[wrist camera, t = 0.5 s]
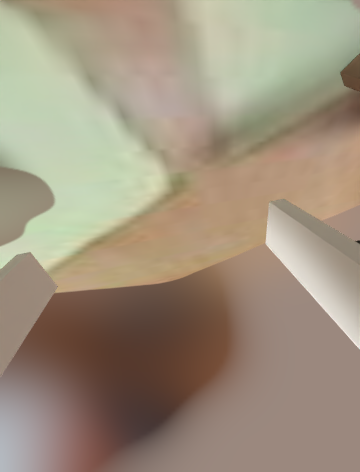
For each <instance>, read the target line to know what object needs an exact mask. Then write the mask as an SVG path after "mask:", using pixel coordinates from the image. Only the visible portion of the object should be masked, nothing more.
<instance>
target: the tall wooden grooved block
mask: <svg viewBox="0 0 360 472" xmlns="http://www.w3.org/2000/svg"><path fill="white" fill-rule="evenodd" d="M340 73H341V76H342V79H343V83H344V86H346V87H349V88H352V89H354V90H357V91H359V92H360V54H359V55H358V56H357V57H356V58H355V59H354V60H353V61H352V62H351V63H350V64H349V65H348V66H347V67H345V68H344V69H343V70H342V71H341V72H340Z"/></svg>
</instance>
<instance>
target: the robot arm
mask: <svg viewBox="0 0 360 472" xmlns="http://www.w3.org/2000/svg"><path fill="white" fill-rule="evenodd" d="M266 245H267V246H268V247H269V248H270V249H271V250H272V251H273V253H274V254H275V255H276V256H277V257H278V258H279V259H280V260H281V261H282V263H283V264H284V265H285V266H286V267H287V268H288V269H289V270H290V272H291V273H292V274H293V275H294V276H295V277H296V278H297V279H298V281H299V282H300V283H301V284H302V285H303V286H304V287H305V289H306V290H307V291H308V292H309V293H310V294H311V295H312V296H313V297H314V298H315V300H316V301H317V302H318V303H319V304H320V305H321V306H322V308H323V309H324V310H325V311H326V312H327V313H328V314H329V315H330V317H331V318H332V319H333V320H334V321H335V322H336V323H337V324H338V326H339V327H340V328H341V329H342V330H343V331H344V332H345V333H346V335H347V336H348V337H349V338H350V339H351V340H352V341H353V342H354V344H355V345H356V346H357V347H358V348H359V349H360V241H354V240H352V239H350V238H348V237H347V236H345V235H344V234H342V233H340V232H339V231H337V230H335V229H334V228H332V227H330V226H328V225H327V224H325V223H323V222H322V221H320V220H318V219H317V218H315V217H313V216H312V215H310V214H308V213H307V212H305V211H303V210H302V209H300V208H298V207H297V206H295V205H293V204H291V203H290V202H288V201H286V200H285V199H281V200H276V201H271V202H269V211H268V223H267V234H266ZM57 287H58V286H57V285H56V284H55V282H54V281H53V280H52V279H51V277H50V276H49V275H48V274H47V272H46V271H45V270H44V269H43V267H42V266H41V265H40V264H39V262H38V261H37V260H36V259H35V257H34V256H33V255H32V254H31V252H28V253H24V254H19V255H16V256H15V257H14V258H13V259H12V260H10V261H9V262H8V263H7V264H6V265H5V266H4V267H3V268H2V269H1V270H0V377H1V375H2V374H3V372H4V371H5V369H6V367H7V366H8V364H9V363H10V361H11V359H12V358H13V356H14V355H15V353H16V351H17V350H18V349H19V347H20V345H21V344H22V342H23V341H24V339H25V338H26V336H27V334H28V333H29V331H30V329H31V328H32V327H33V325H34V323H35V322H36V320H37V319H38V317H39V316H40V314H41V312H42V311H43V309H44V308H45V306H46V304H47V303H48V301H49V300H50V298H51V297H52V295H53V293H54V292H55V290H56V289H57Z"/></svg>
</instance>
